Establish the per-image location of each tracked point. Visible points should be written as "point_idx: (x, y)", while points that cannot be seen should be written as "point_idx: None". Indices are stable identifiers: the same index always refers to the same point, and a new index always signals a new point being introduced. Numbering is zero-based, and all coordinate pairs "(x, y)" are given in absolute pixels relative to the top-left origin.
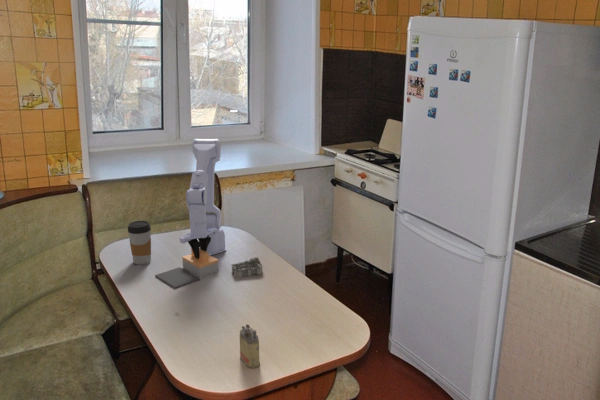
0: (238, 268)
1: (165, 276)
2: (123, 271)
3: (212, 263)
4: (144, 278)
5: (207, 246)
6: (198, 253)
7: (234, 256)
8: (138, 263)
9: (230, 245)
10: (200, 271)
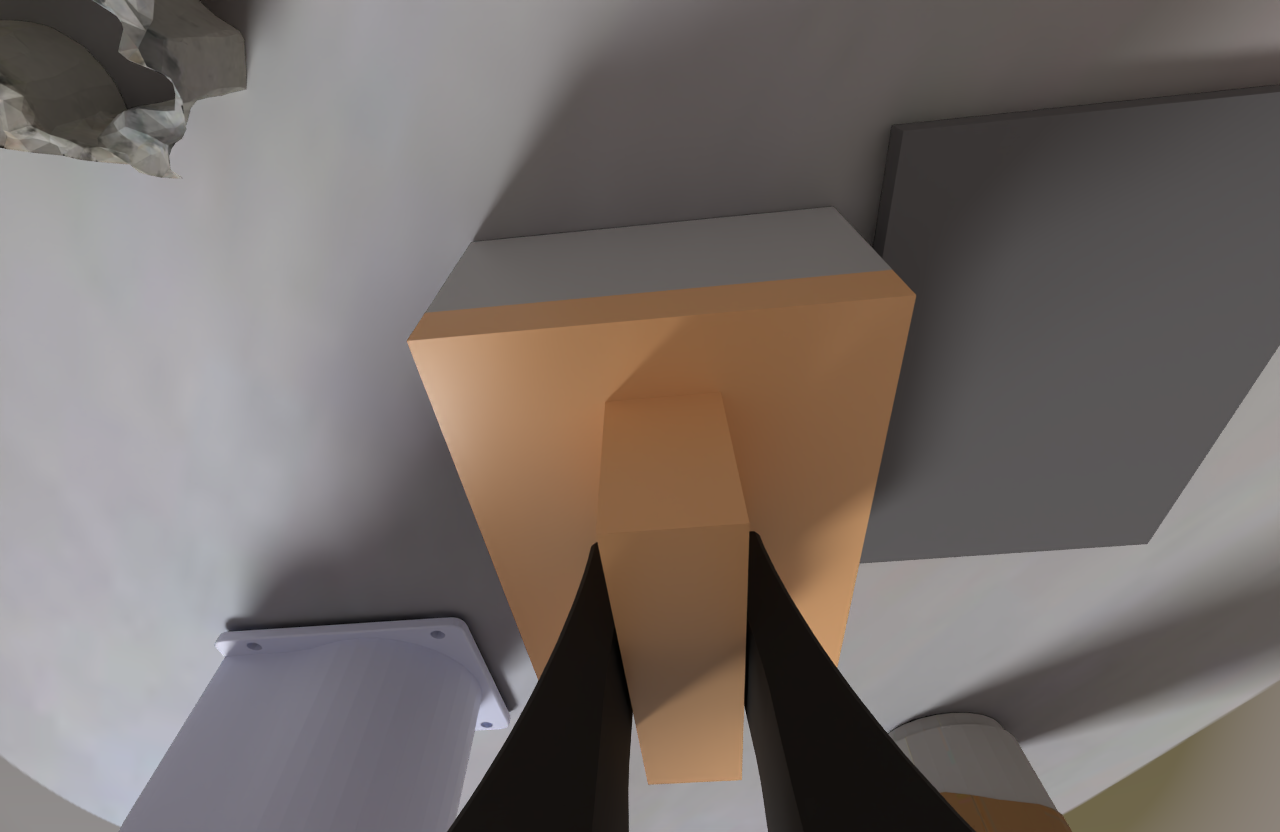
0: (85, 75)
1: (1126, 467)
2: (1163, 697)
3: (565, 307)
4: (1223, 547)
5: (523, 734)
6: (774, 617)
7: (143, 502)
8: (1011, 735)
9: (165, 681)
10: (847, 246)
